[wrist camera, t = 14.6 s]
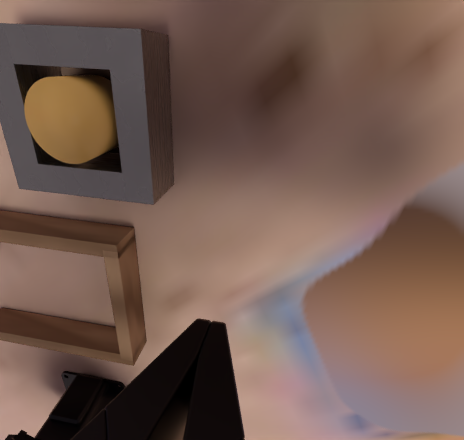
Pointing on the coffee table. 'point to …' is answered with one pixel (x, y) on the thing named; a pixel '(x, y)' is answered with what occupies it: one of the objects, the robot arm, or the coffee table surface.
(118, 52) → the button housing
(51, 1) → the coffee table surface
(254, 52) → the coffee table surface
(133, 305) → the brown wooden u-shaped frame
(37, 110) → the button
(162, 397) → the robot arm
